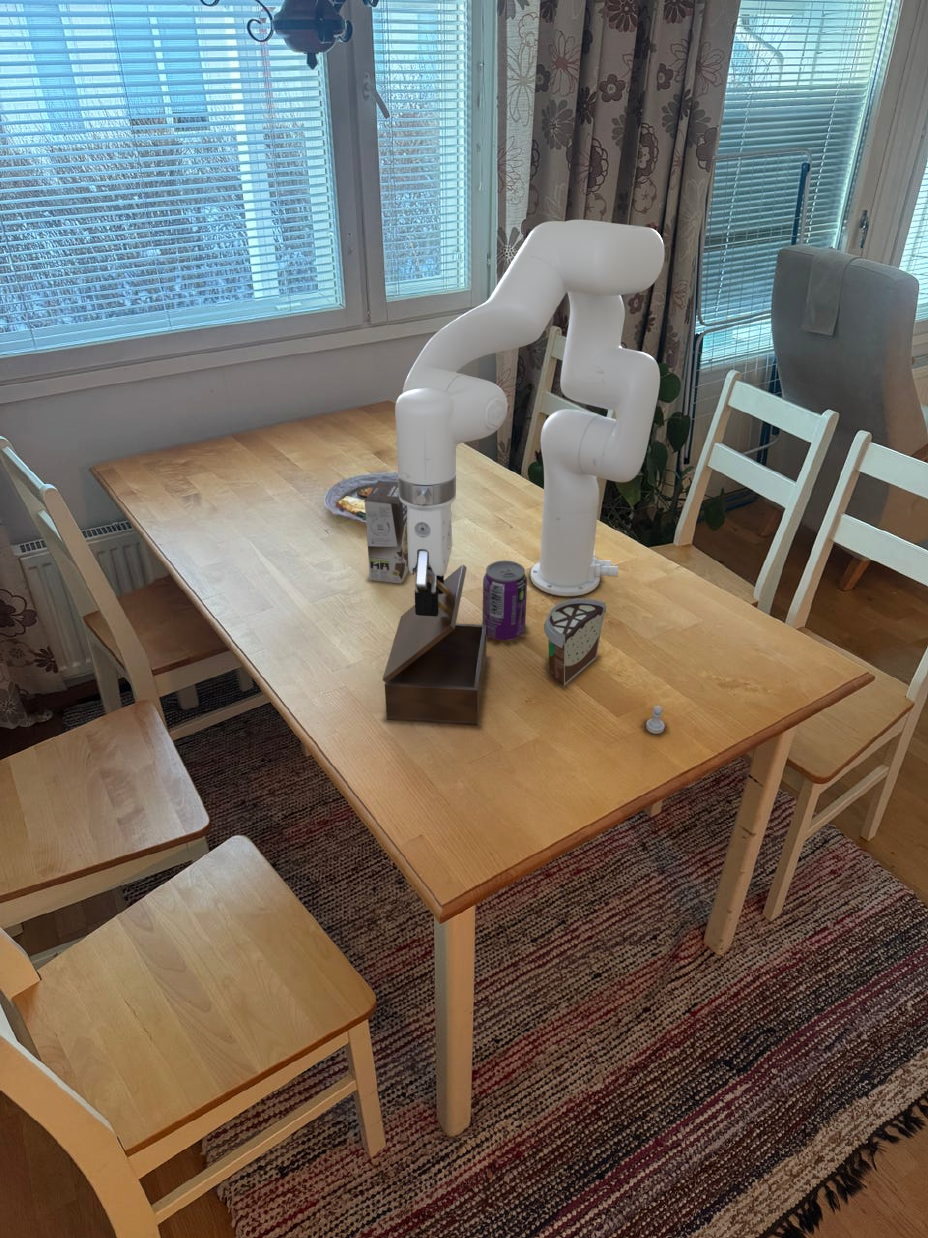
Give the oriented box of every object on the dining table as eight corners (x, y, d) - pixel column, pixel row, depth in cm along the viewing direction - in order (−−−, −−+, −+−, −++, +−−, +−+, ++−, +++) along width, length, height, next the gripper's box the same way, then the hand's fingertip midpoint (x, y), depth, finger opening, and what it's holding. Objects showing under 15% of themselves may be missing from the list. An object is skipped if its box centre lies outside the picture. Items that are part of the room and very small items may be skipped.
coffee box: (403, 584, 155) (399, 504, 146) (368, 580, 156) (362, 500, 147) (415, 559, 162) (412, 481, 153) (382, 556, 163) (377, 478, 154)
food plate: (463, 496, 185) (463, 481, 183) (408, 543, 167) (407, 527, 165) (366, 474, 194) (365, 459, 192) (304, 515, 177) (302, 500, 175)
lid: (466, 567, 127) (439, 542, 125) (454, 629, 113) (424, 602, 112) (404, 619, 133) (377, 596, 131) (386, 683, 120) (356, 659, 118)
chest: (486, 659, 136) (486, 624, 132) (477, 726, 123) (477, 690, 119) (404, 654, 137) (402, 620, 133) (386, 720, 124) (384, 684, 120)
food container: (569, 639, 140) (573, 588, 135) (601, 653, 137) (607, 601, 131) (525, 675, 132) (528, 621, 127) (558, 690, 129) (562, 636, 124)
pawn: (656, 720, 124) (659, 698, 121) (667, 730, 122) (671, 709, 119) (641, 725, 123) (645, 704, 120) (653, 736, 121) (657, 714, 118)
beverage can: (531, 638, 140) (535, 576, 134) (492, 648, 138) (493, 585, 132) (514, 616, 146) (516, 555, 139) (475, 625, 144) (476, 563, 137)
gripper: (447, 517, 104) (448, 639, 114) (463, 461, 118) (462, 574, 128) (386, 514, 104) (393, 636, 115) (409, 459, 119) (413, 571, 129)
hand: (429, 602), depth 121 cm, fingers closed on lid, 5 cm apart
